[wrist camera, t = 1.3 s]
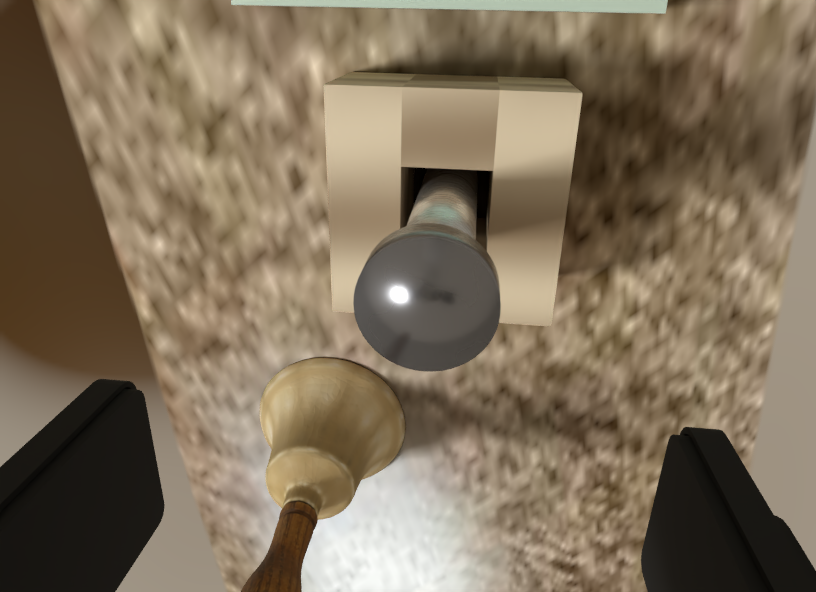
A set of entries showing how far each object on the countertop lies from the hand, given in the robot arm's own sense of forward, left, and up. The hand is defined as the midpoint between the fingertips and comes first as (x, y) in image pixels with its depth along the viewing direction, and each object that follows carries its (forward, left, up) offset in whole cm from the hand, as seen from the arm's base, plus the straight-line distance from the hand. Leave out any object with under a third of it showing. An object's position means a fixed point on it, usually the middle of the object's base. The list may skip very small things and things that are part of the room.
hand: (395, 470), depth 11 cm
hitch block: (-1, 0, -19) cm, 19 cm away
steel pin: (-1, 0, -19) cm, 19 cm away
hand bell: (+13, -6, -19) cm, 24 cm away
